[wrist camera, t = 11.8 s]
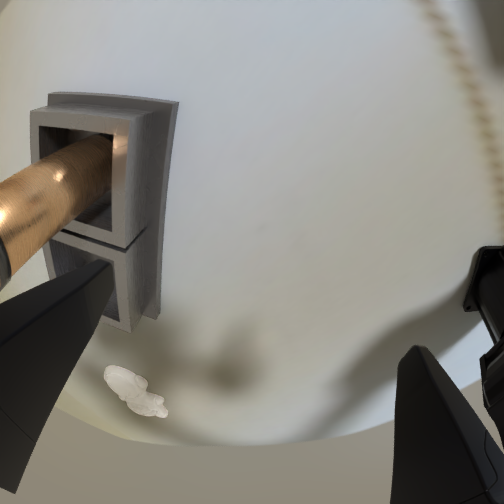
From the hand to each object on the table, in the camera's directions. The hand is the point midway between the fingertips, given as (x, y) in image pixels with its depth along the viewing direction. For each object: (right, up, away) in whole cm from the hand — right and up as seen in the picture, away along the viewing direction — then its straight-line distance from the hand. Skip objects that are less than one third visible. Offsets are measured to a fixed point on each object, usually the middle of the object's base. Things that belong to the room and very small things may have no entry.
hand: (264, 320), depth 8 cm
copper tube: (-12, +8, +11) cm, 18 cm away
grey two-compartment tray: (-12, +5, +15) cm, 20 cm away
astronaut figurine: (-17, -18, +31) cm, 40 cm away
